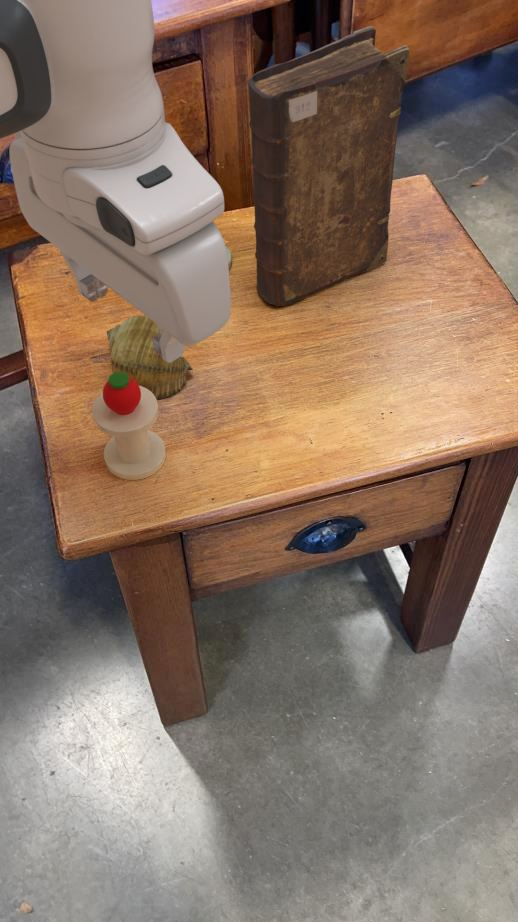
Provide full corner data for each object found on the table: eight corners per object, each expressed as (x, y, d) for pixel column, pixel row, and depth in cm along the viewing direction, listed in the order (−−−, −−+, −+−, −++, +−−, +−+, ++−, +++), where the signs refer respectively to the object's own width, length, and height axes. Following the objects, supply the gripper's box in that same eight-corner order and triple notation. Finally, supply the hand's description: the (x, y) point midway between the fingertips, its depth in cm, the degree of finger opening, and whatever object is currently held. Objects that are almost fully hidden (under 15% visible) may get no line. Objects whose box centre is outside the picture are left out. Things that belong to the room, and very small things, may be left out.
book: (271, 313, 94) (268, 95, 74) (240, 279, 98) (230, 61, 78) (391, 266, 99) (419, 50, 79) (357, 235, 103) (377, 21, 83)
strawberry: (107, 423, 75) (100, 395, 72) (104, 396, 77) (97, 368, 74) (145, 417, 75) (139, 389, 72) (141, 391, 77) (135, 362, 74)
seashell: (187, 403, 91) (207, 333, 89) (174, 413, 85) (195, 337, 82) (103, 375, 91) (121, 304, 89) (83, 382, 84) (102, 306, 82)
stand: (107, 484, 80) (94, 436, 74) (102, 438, 83) (89, 389, 77) (169, 474, 80) (161, 426, 75) (162, 429, 84) (153, 379, 78)
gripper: (-33, 111, 56) (20, 279, 67) (160, 247, 47) (183, 414, 58) (46, 78, 58) (84, 245, 69) (243, 202, 50) (249, 370, 61)
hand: (131, 323), depth 64 cm, fingers open, 8 cm apart
